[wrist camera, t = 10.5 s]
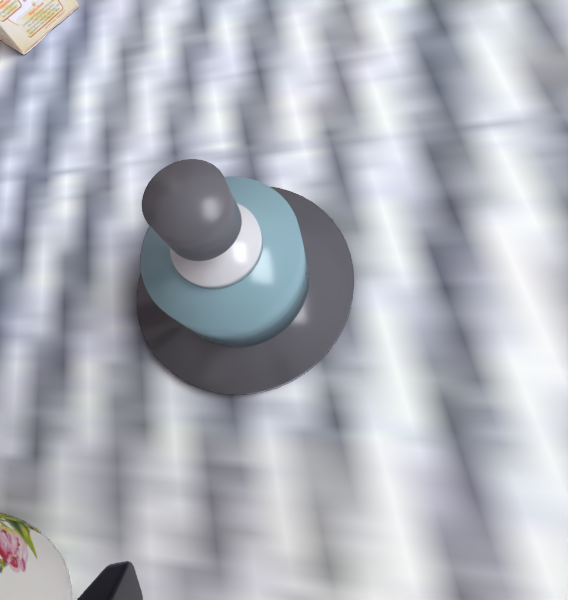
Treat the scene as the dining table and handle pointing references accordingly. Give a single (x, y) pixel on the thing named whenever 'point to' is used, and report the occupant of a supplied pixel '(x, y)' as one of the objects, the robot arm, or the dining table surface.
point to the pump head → (192, 209)
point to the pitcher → (30, 564)
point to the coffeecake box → (31, 20)
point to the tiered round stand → (249, 296)
